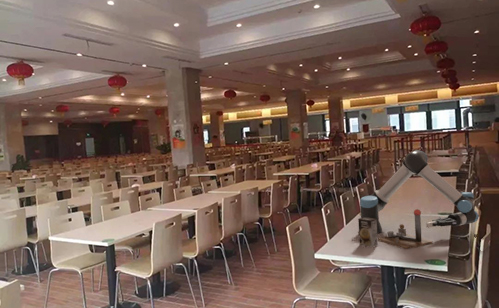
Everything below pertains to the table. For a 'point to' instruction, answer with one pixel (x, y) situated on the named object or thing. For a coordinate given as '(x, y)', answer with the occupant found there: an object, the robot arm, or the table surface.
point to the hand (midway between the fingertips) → (427, 225)
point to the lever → (417, 229)
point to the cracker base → (404, 240)
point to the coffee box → (368, 232)
